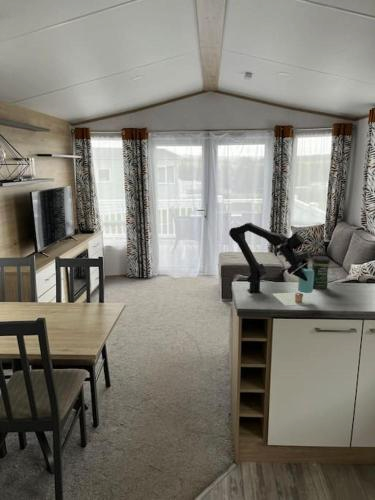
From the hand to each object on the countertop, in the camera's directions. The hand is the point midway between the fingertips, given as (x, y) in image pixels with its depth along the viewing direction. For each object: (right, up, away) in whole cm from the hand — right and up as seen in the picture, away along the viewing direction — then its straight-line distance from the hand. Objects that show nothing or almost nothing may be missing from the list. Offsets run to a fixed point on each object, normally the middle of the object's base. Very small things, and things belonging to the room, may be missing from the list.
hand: (309, 279), depth 192 cm
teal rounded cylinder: (-1, -6, +2) cm, 7 cm away
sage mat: (-7, -11, +7) cm, 15 cm away
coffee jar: (+15, -7, +29) cm, 33 cm away
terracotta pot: (-5, -12, +2) cm, 13 cm away
